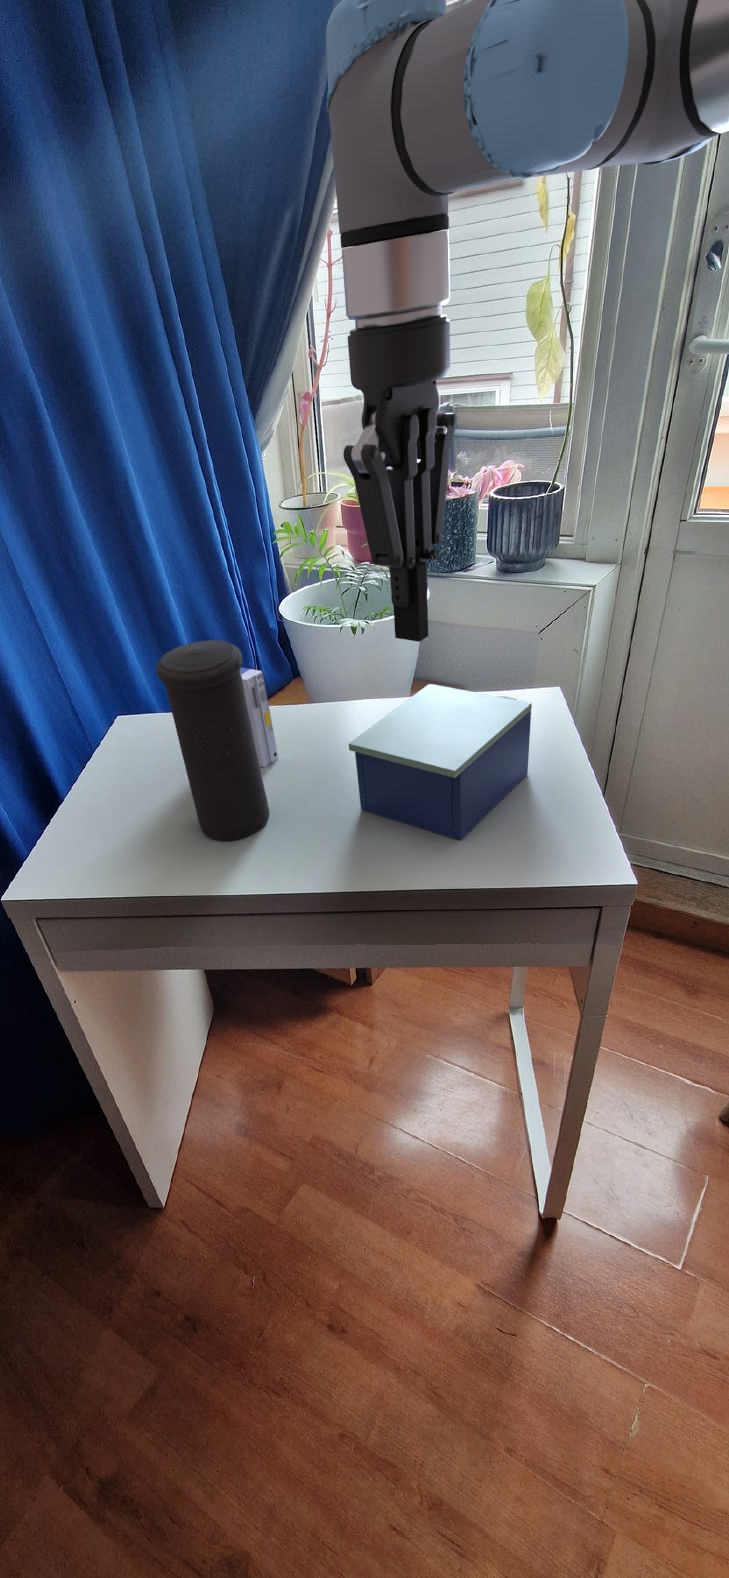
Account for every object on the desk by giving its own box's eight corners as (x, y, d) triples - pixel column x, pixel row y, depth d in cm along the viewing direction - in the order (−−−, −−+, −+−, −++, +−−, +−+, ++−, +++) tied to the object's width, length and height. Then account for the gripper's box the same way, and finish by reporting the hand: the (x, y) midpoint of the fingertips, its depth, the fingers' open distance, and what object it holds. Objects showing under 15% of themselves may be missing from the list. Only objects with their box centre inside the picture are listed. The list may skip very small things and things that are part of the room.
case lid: (455, 778, 72) (455, 771, 72) (349, 750, 79) (348, 743, 79) (531, 709, 81) (532, 702, 80) (429, 690, 88) (429, 683, 87)
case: (460, 840, 78) (460, 774, 73) (360, 809, 85) (354, 746, 80) (527, 774, 86) (531, 710, 81) (431, 751, 93) (429, 690, 88)
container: (277, 797, 89) (246, 629, 76) (267, 841, 82) (230, 664, 70) (207, 801, 91) (164, 637, 78) (191, 845, 84) (142, 672, 71)
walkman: (220, 756, 99) (199, 668, 92) (234, 746, 101) (215, 659, 93) (265, 768, 95) (247, 677, 87) (279, 758, 96) (263, 668, 89)
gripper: (404, 312, 61) (416, 608, 76) (302, 336, 54) (337, 657, 69) (487, 301, 56) (482, 617, 72) (389, 325, 49) (406, 670, 65)
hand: (411, 636), depth 70 cm, fingers closed
